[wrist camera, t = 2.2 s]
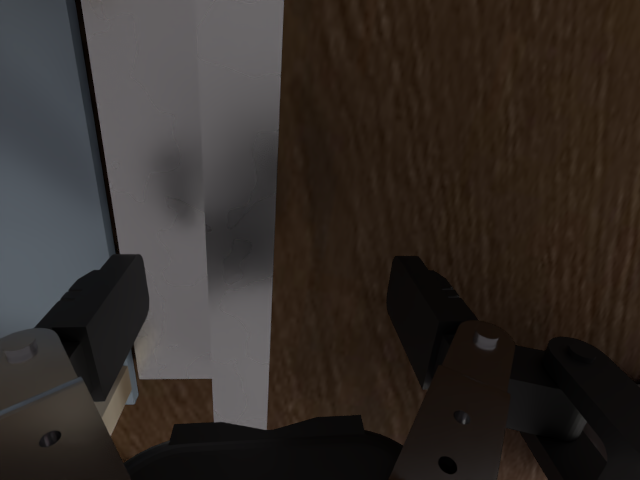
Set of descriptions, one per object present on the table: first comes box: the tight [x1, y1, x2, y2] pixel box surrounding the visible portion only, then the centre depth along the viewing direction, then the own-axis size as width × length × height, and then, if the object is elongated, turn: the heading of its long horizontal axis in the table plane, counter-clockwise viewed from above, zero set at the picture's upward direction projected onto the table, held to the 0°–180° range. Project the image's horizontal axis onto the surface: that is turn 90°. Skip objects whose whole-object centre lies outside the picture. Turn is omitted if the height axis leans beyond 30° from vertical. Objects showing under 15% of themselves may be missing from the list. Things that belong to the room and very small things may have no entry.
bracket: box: [81, 0, 284, 430], centre depth 13 cm, size 16×6×7 cm, turn 175°
